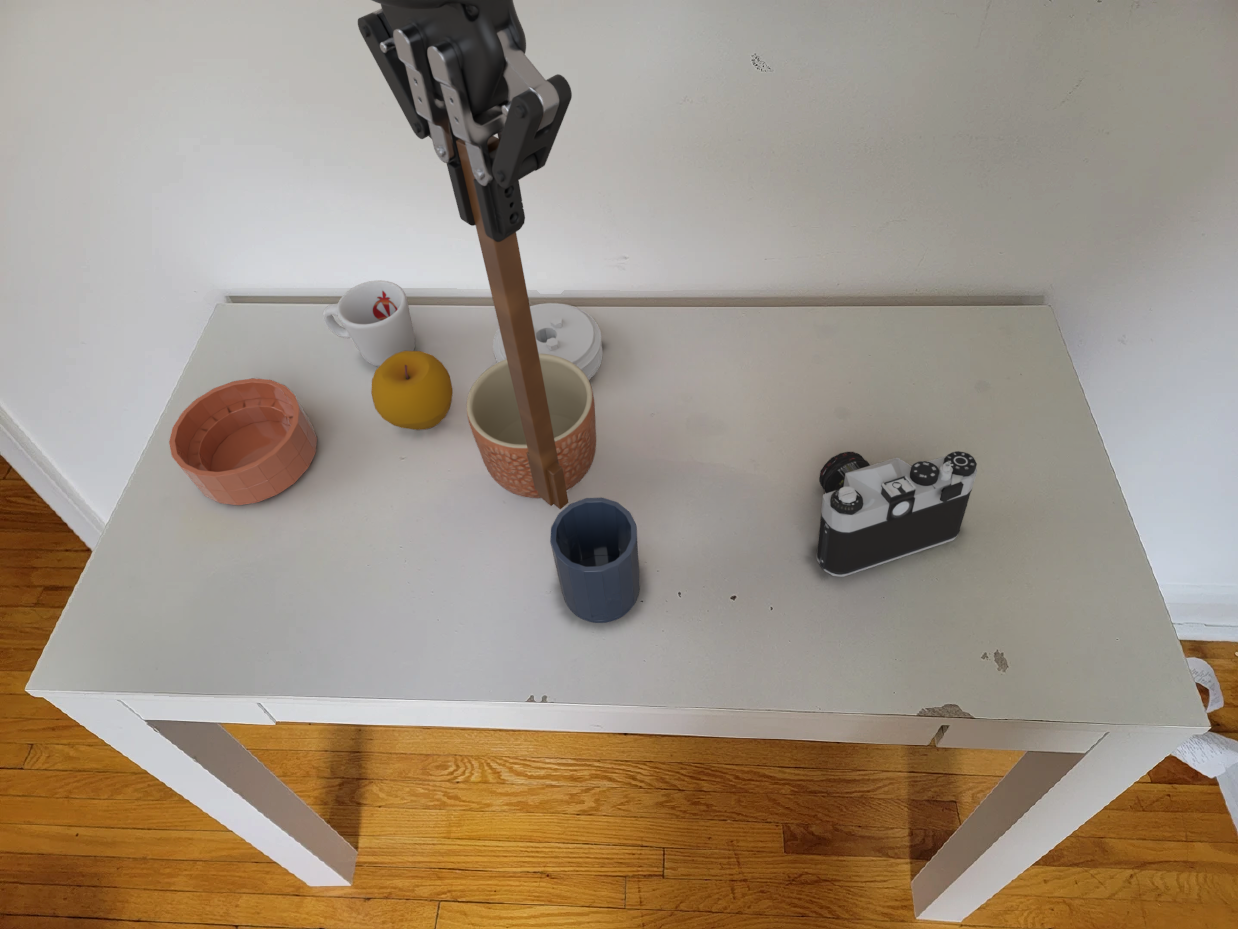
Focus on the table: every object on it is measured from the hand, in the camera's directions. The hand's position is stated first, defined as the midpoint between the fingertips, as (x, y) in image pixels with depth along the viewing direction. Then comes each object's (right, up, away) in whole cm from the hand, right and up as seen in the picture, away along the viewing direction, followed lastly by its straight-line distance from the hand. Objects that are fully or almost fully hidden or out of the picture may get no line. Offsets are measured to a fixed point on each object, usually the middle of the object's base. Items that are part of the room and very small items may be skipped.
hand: (493, 224), depth 43 cm
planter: (-1, -14, +40) cm, 42 cm away
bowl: (-33, -13, +42) cm, 55 cm away
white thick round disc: (-1, -1, +49) cm, 49 cm away
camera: (+32, -19, +34) cm, 51 cm away
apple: (-15, -8, +45) cm, 48 cm away
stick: (+1, -16, +22) cm, 27 cm away
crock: (+5, -25, +31) cm, 40 cm away
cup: (-22, 0, +52) cm, 56 cm away
